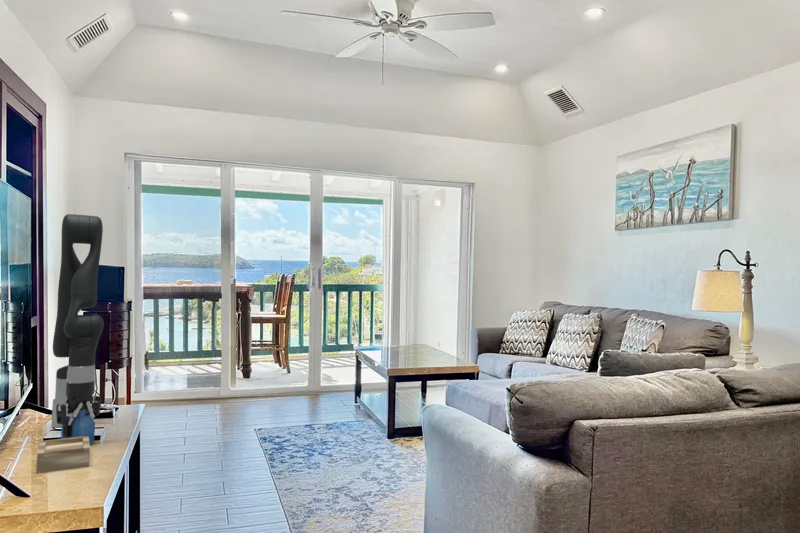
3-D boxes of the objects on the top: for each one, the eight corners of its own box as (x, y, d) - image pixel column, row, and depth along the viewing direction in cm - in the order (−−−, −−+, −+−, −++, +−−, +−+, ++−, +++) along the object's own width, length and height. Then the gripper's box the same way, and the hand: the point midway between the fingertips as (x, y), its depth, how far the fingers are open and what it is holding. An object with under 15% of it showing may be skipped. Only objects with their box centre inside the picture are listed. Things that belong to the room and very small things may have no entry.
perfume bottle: (78, 448, 158) (80, 408, 158) (60, 446, 159) (62, 406, 159) (93, 442, 164) (95, 403, 164) (76, 440, 165) (78, 402, 165)
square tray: (38, 459, 149) (39, 441, 149) (87, 453, 155) (88, 435, 155) (36, 473, 139) (37, 453, 139) (88, 466, 145) (89, 447, 145)
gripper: (91, 374, 170) (88, 426, 169) (50, 382, 156) (46, 438, 156) (109, 376, 168) (107, 429, 167) (69, 385, 154) (65, 442, 153)
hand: (78, 433), depth 161 cm, fingers closed on perfume bottle, 6 cm apart
